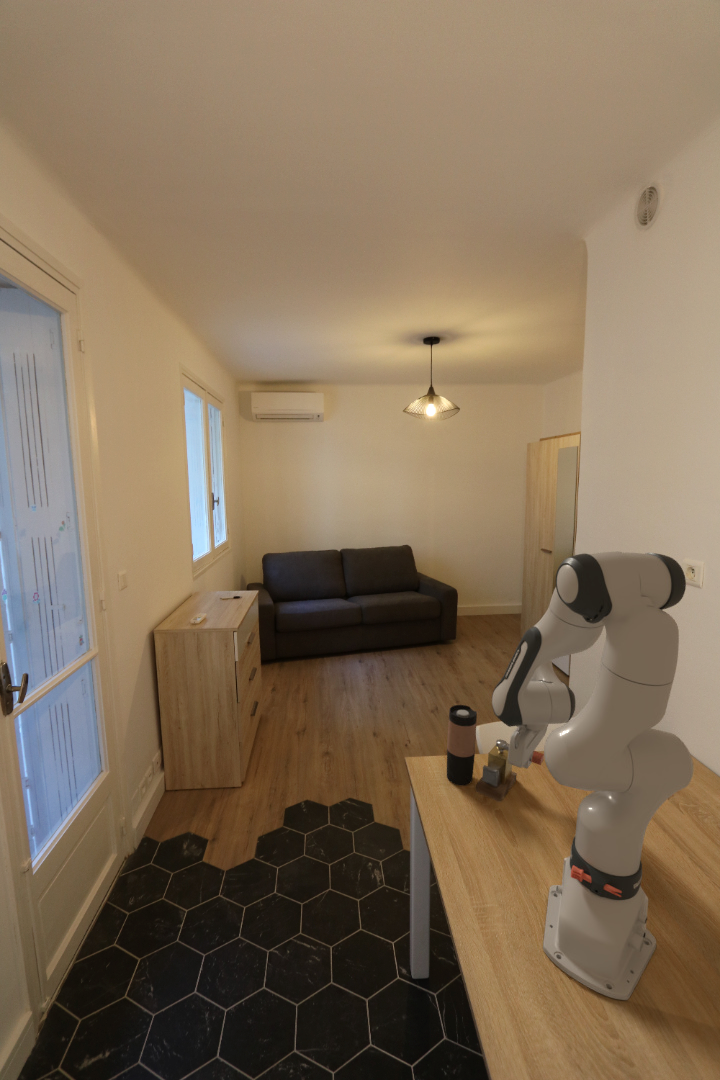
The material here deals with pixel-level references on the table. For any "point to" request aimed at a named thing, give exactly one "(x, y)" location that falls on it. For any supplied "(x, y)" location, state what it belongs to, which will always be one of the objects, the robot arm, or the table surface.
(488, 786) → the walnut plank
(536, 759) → the valve lever
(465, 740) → the travel mug
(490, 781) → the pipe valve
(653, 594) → the robot arm
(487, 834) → the table surface
